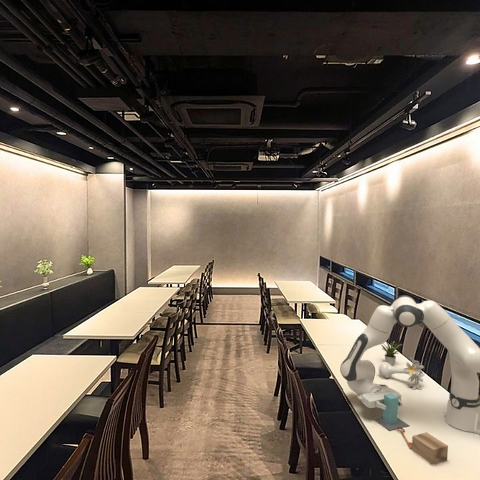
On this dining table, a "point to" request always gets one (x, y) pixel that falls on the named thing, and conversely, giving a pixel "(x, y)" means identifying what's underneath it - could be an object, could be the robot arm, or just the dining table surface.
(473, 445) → the dining table surface
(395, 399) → the tall teal pillar
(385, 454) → the dining table surface
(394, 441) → the dining table surface
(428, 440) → the block
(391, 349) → the house plant
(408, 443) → the key
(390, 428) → the mat
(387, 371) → the flower vase
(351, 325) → the dining table surface
